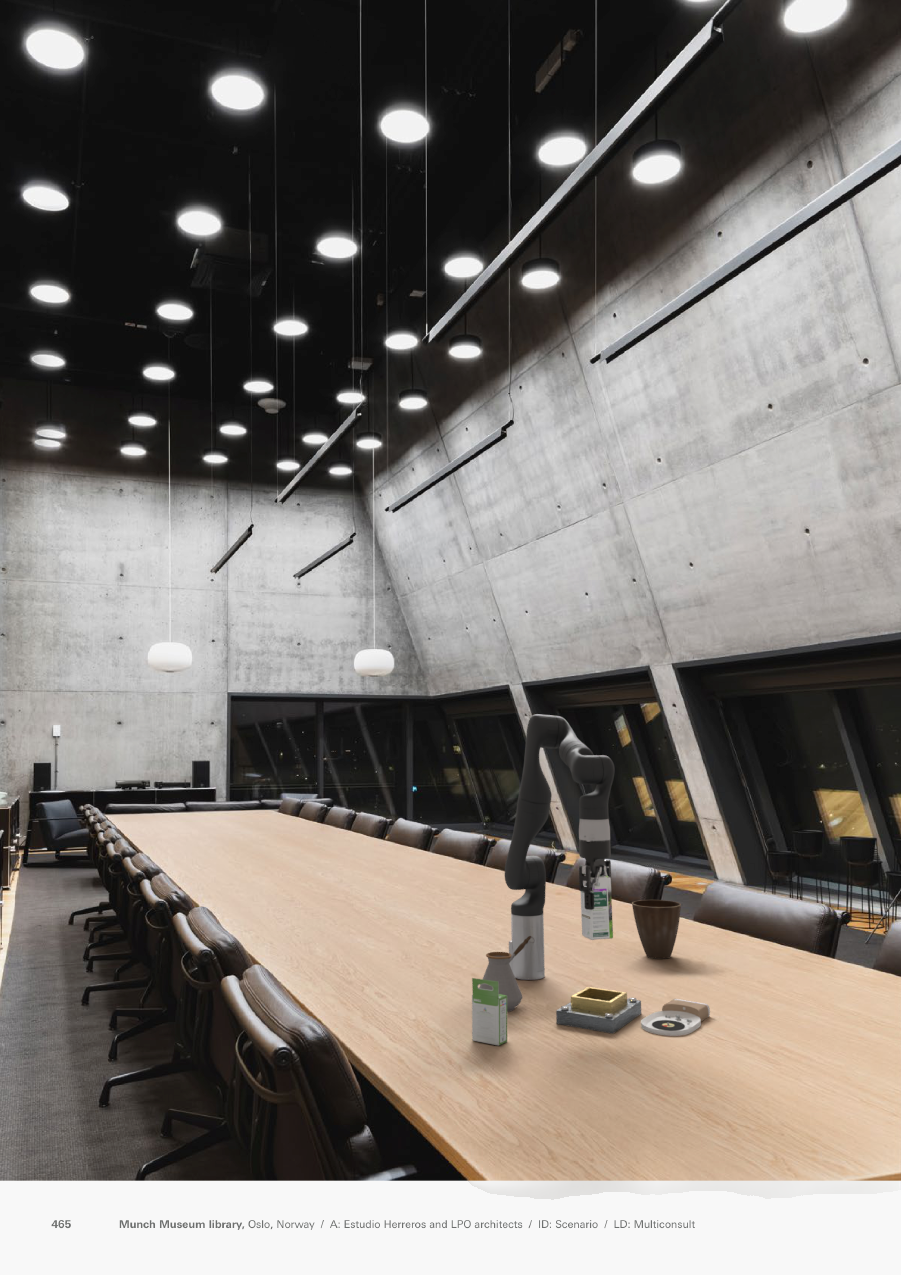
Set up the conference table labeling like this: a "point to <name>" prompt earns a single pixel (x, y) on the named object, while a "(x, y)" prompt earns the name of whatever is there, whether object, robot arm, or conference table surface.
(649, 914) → the plant pot
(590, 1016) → the square socket fixture
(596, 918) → the syrup box
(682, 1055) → the conference table surface
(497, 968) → the coffee pot
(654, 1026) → the record player
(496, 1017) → the ink box
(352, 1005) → the conference table surface
